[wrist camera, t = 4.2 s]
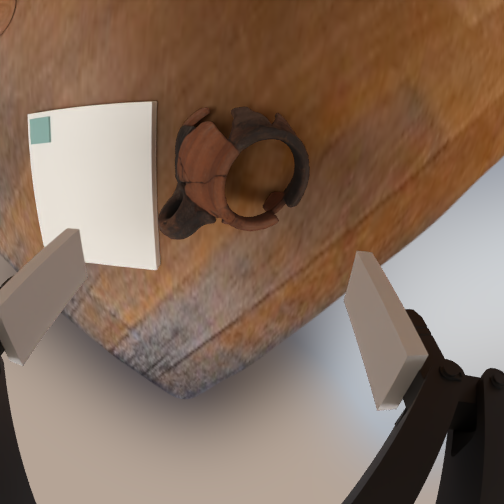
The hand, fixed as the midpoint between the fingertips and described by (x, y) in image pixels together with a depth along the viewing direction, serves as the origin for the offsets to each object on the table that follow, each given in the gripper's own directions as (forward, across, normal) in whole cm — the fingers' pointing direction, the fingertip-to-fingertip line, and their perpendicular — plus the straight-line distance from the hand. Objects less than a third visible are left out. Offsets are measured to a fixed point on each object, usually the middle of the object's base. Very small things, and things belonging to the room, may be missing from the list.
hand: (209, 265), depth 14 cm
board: (+13, -13, -1) cm, 19 cm away
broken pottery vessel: (+14, -1, +2) cm, 14 cm away
